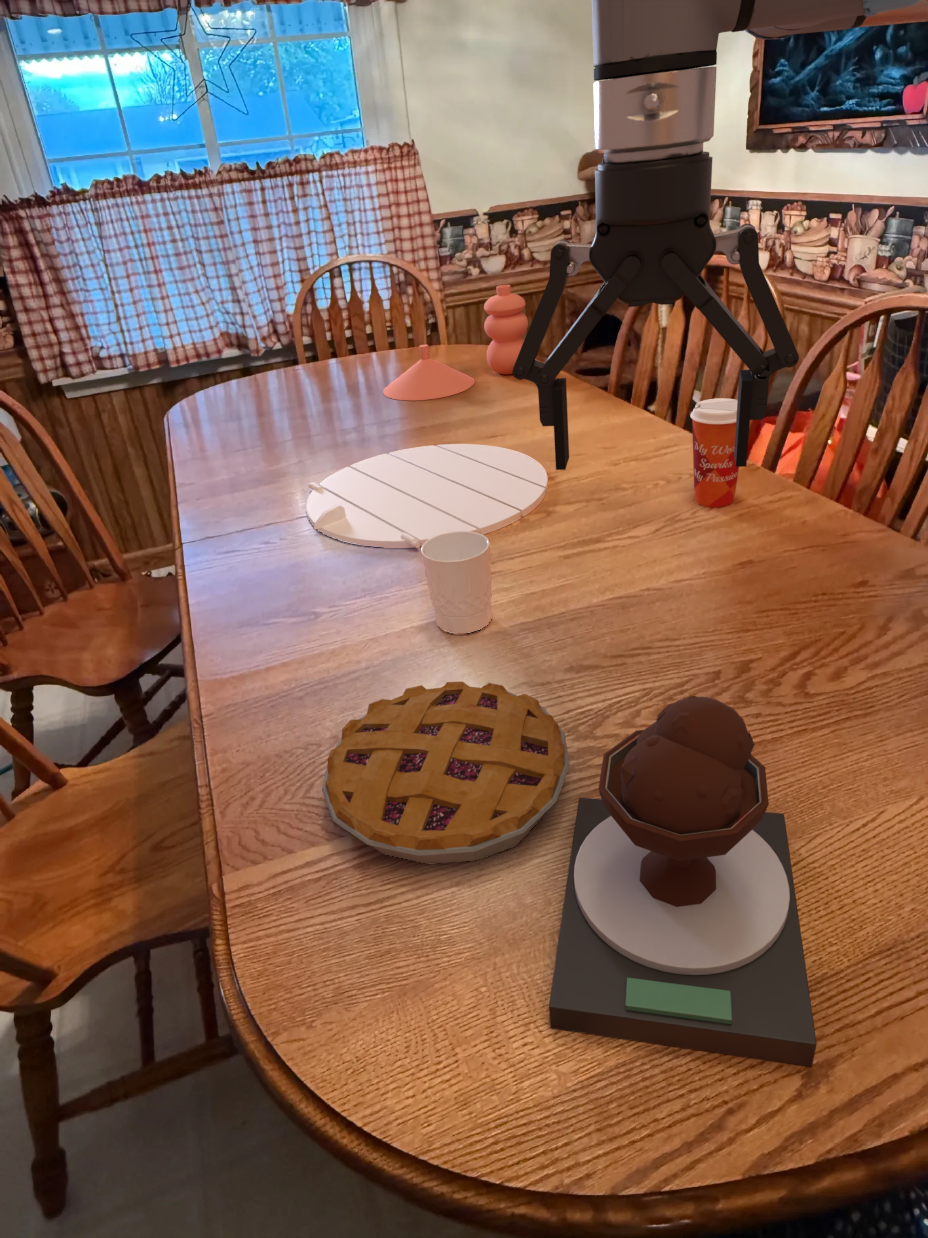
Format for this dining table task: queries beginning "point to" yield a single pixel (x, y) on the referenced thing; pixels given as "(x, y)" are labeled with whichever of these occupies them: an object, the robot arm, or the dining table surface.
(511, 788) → the pie
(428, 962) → the dining table surface
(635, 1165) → the dining table surface
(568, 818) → the dining table surface
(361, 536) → the lazy susan
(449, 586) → the white cup
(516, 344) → the ceramic vessels
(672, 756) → the ice cream bowl
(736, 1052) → the scale
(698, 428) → the paper cup
